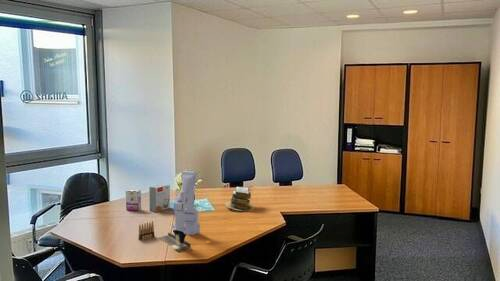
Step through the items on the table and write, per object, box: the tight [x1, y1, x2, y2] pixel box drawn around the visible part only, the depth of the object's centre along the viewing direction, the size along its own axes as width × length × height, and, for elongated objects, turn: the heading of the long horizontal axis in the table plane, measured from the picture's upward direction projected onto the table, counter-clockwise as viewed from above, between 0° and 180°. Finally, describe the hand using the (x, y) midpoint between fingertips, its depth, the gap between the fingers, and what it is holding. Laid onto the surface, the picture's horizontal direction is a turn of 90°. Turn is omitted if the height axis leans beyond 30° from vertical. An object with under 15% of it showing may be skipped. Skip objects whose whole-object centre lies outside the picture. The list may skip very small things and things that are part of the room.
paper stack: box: [224, 186, 256, 212], centre depth 342 cm, size 25×25×17 cm
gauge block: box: [176, 234, 186, 246], centre depth 257 cm, size 4×4×6 cm
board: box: [157, 232, 192, 253], centre depth 262 cm, size 9×26×3 cm, turn 40°
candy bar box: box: [125, 189, 142, 212], centre depth 335 cm, size 11×5×16 cm, turn 76°
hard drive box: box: [148, 183, 171, 213], centre depth 336 cm, size 16×8×20 cm, turn 143°
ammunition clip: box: [137, 220, 155, 241], centre depth 268 cm, size 11×2×12 cm, turn 131°
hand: (180, 241), depth 257 cm, fingers closed on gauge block, 4 cm apart
